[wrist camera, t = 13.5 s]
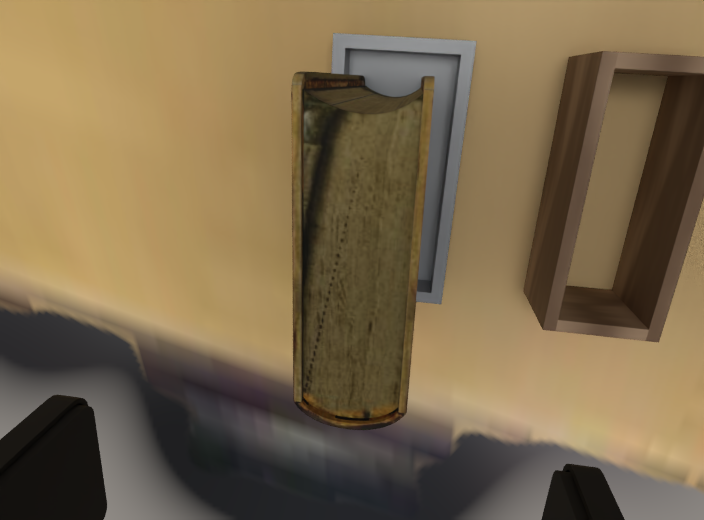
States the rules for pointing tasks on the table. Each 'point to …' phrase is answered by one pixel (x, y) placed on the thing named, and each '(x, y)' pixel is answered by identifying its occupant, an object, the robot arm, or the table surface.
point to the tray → (446, 124)
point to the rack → (649, 210)
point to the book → (356, 245)
